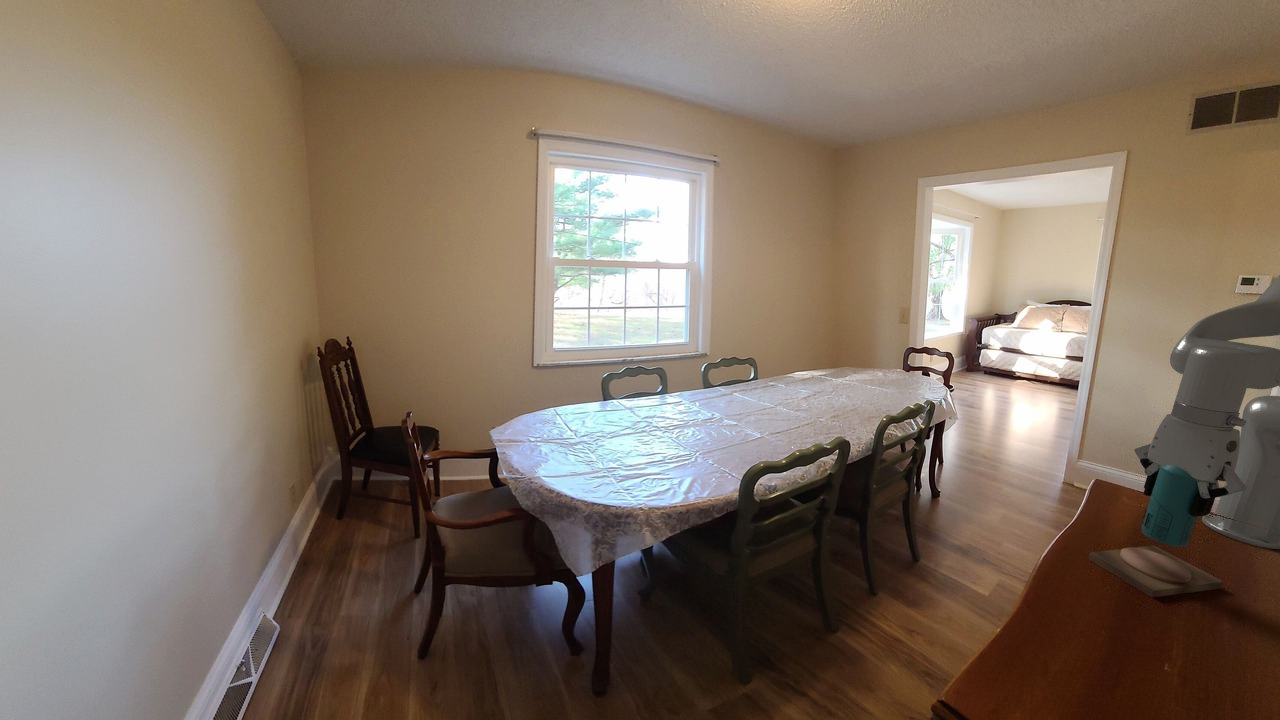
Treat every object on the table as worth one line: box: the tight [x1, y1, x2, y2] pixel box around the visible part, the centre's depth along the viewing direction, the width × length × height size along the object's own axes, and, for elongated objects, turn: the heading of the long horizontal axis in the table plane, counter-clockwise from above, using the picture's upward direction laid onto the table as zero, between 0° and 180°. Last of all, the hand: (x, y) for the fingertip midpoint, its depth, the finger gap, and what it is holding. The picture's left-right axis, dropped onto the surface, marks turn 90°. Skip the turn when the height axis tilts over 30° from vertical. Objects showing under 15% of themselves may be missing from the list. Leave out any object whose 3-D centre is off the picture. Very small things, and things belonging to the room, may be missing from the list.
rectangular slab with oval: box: [1087, 544, 1224, 598], centre depth 94 cm, size 16×11×2 cm
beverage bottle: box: [1140, 465, 1200, 548], centre depth 90 cm, size 6×7×20 cm
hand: (1173, 503), depth 91 cm, fingers closed on beverage bottle, 6 cm apart
